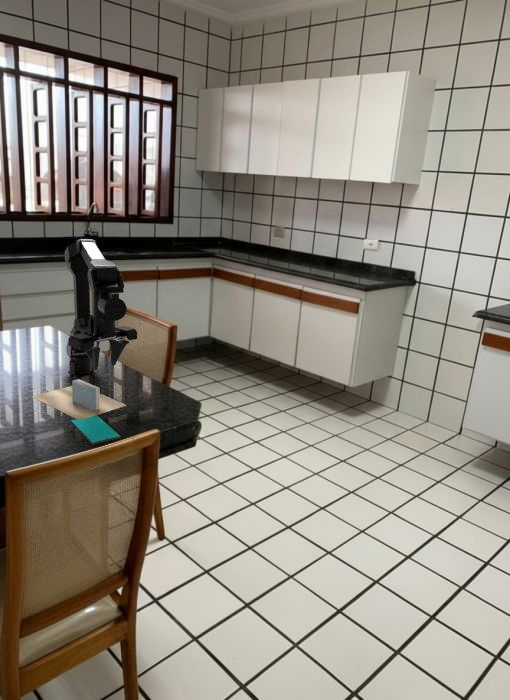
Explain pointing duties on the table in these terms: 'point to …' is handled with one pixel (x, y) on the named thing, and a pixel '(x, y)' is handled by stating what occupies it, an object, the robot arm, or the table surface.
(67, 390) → the mat
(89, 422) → the smartphone
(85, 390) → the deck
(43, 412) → the table surface
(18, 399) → the table surface
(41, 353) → the table surface
